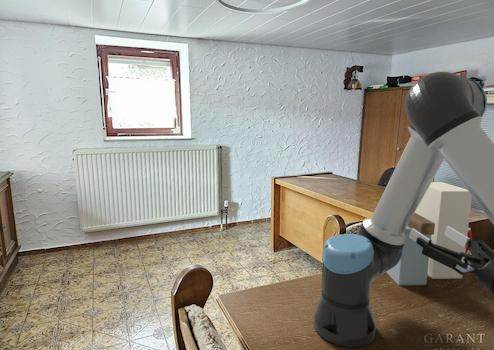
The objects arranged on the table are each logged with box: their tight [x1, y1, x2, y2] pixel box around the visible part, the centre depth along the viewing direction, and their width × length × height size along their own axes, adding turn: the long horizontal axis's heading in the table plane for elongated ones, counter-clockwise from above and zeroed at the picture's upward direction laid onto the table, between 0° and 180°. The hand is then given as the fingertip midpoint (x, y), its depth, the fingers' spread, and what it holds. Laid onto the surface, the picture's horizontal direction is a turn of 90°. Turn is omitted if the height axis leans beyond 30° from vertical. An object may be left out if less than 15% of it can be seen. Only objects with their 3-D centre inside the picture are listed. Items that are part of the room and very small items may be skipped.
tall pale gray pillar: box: [385, 226, 431, 286], centre depth 106 cm, size 9×12×19 cm
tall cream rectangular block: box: [415, 181, 473, 280], centre depth 111 cm, size 10×15×30 cm, turn 1°
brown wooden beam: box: [408, 213, 435, 235], centre depth 104 cm, size 9×22×4 cm, turn 1°
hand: (429, 231), depth 88 cm, fingers open, 12 cm apart
